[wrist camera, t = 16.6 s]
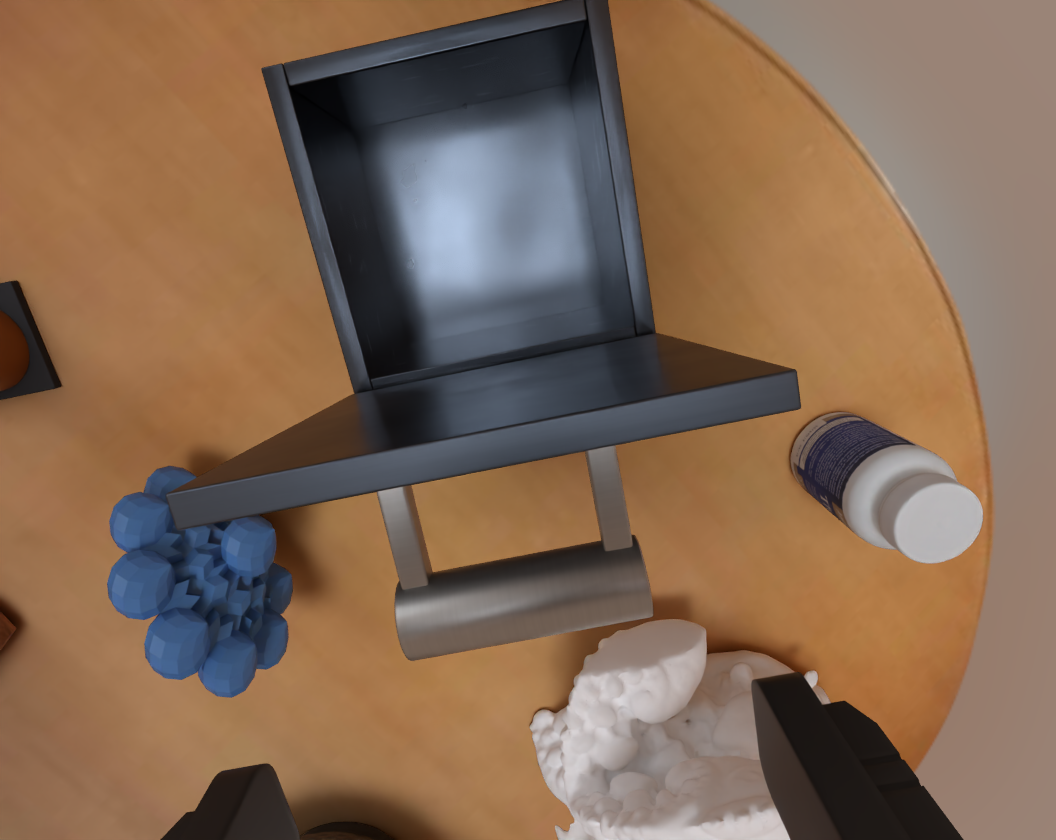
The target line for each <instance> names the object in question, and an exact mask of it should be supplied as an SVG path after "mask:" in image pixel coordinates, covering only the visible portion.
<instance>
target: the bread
mask: <svg viewBox="0 0 1056 840" xmlns="http://www.w3.org/2000/svg"><path fill="white" fill-rule="evenodd" d="M15 630H16V627H15V626H14V625H13V624H12V623H11V622H10V621H9V620H8V619H7V618H6V617H5V616H4V615H3V614H2V612H1V611H0V650H1V649H2V648H3V646H4V645H5V644H6V643H7V641H8V640H9V638H10V637H11V635H12V634H13V633H14V631H15Z"/></svg>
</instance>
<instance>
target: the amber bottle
mask: <svg viewBox="0 0 1056 840" xmlns="http://www.w3.org/2000/svg"><path fill="white" fill-rule="evenodd" d="M28 365H29V348H28V344H27V341H26V339H25V337H24V335H23V333H22V331H21V329H20V328H19V327H18V325H17V324H16V323H15V322H14V321H13V320H12V319H11V318H10V317H9V316H8V315H7V314H5V313H4V312H2V311H1V310H0V391H4V390H7V389H9V388H11V387H13V386H15V385H16V384H17V383H18V382H20V381H21V379H22V378H23V377H24V375H25V373H26V371H27V369H28Z"/></svg>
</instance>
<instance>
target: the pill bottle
mask: <svg viewBox="0 0 1056 840" xmlns="http://www.w3.org/2000/svg"><path fill="white" fill-rule="evenodd" d="M791 468H792V471H793V474H794V476H795V478H796V480H797V481H798V483H799V484H800V485H801V486H802V487H803V488H804V489H805V490H806V491H807V492H808V493H809V494H810V495H812V496H813V497H814V498H815V499H816V500H817V501H818V502H820V503H821V504H822V505H823V506H824V507H825V508H826V509H827V510H829V511H830V512H831V513H832V514H833V515H834V516H836V517H837V518H838V519H839V520H840V521H841V522H842V523H844V524H845V525H846V526H847V527H848V528H849V529H851V530H852V531H853V532H854V533H855V534H856V535H858V536H859V537H860V538H862V539H863V540H865V541H866V542H868V543H870V544H872V545H874V546H877V547H880V548H885V549H893V550H898V551H900V552H901V553H902V554H904V555H905V556H907V557H908V558H910V559H912V560H914V561H917V562H921V563H940V562H944V561H947V560H950V559H952V558H954V557H956V556H958V555H959V554H961V553H962V552H964V551H965V550H966V549H967V548H968V547H969V546H970V545H971V544H972V543H973V542H974V540H975V539H976V537H977V536H978V534H979V532H980V529H981V526H982V522H983V509H982V506H981V503H980V501H979V499H978V498H977V496H976V495H975V494H974V493H973V492H972V491H971V490H969V489H968V488H966V487H965V486H963V485H962V484H960V483H959V482H957V479H956V476H955V474H954V472H953V470H952V469H951V467H950V466H949V465H948V464H947V463H946V462H945V461H944V460H943V459H942V458H941V457H939V456H938V455H936V454H935V453H933V452H931V451H929V450H927V449H925V448H923V447H921V446H919V445H917V444H915V443H913V442H911V441H909V440H907V439H905V438H903V437H901V436H899V435H897V434H895V433H893V432H891V431H889V430H887V429H885V428H883V427H882V426H880V425H878V424H876V423H874V422H872V421H870V420H867V419H865V418H863V417H861V416H859V415H856V414H852V413H847V412H836V413H830V414H826V415H823V416H821V417H819V418H817V419H816V420H814V421H812V422H811V423H810V424H809V425H807V426H806V427H805V429H804V430H803V431H802V432H801V433H800V435H799V436H798V438H797V439H796V441H795V443H794V446H793V449H792V453H791Z"/></svg>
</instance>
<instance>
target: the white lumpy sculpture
mask: <svg viewBox="0 0 1056 840" xmlns="http://www.w3.org/2000/svg"><path fill="white" fill-rule="evenodd" d="M706 654H707V642H706V629H705V628H703V627H702V626H700V625H698V624H696V623H693V622H689V621H685V620H682V619H681V620H679V619H665V620H657V621H651V622H646V623H644V624H641V625H638V626H636V627H633V628H631V629H629V630H618V631H616V632H615V633H614V634H613V635H611V636H610V637H609V638H604V639H602V640H601V641H600V642H599V644H598V651H597V652H596V653H594V654H590V655H587V656H586V658H585V660H584V666H583V670H582V671H581V672H580V673H579V675H576V676H575V678H574V688H573V689H572V691H571V692H570V695H569V704H568V705H567V706H566V707H565V708H563V709H561V710H560V711H559V712H557V713H553V712H551V711H549V710H540V711H538V712H537V713H536V714H535V715H534V717H533V722H532V724H531V725H530V730H531V731H532V732H533V735H532V739H533V741H534V744H535V747H536V754H537V759H538V764H539V766H540V768H541V771H542V775H543V778H544V780H545V782H546V784H547V786H548V788H549V789H550V791H551V792H552V793H553V794H554V796H555V797H557V798H558V799H559V800H561V801H562V802H563V803H564V804H566V805H567V806H568V808H569V810H570V813H571V815H572V816H573V817H574V819H575V820H574V823H573V824H570V829H569V831H568V832H567V831H564V830H563V829H562V828H560V827H559V826H557V825H555V830H556V833H557V837H558V840H790V837H789V835H788V833H787V831H786V829H785V826H784V824H783V822H782V820H781V818H780V815H779V813H778V811H777V809H776V807H775V804H774V802H773V800H772V798H771V795H770V793H769V790H768V787H767V784H766V781H765V778H764V774H763V770H762V767H761V762H760V757H759V750H758V742H757V733H756V725H755V716H754V708H753V699H752V691H751V682H752V680H754V679H759V678H765V677H771V676H776V675H782V674H788V673H794V671H793V670H791V669H790V668H789V667H788V666H786V665H785V664H783V663H781V662H779V661H777V660H775V659H773V658H771V657H770V656H768V655H765V654H762V653H755V652H751V651H747V650H740V651H735V652H723V653H711V654H707V655H706ZM804 678H805V679H806V680H807V682H808V683H809V685H810V686H811V688H812V689H813V691H814V692H815V694H816V696H817V697H818V699H819V700H820V702H821V703H822V705H823V704H829V703H831V702H830V700H829V698H828V696H827V695H826V693H825V691H824V690H823V689H822V688H821V687H819V686H818V685H816V683H817V681H818V674H817V672H816V671H814V670H812V671H808V672H807V673H806V674H805V675H804Z"/></svg>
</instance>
